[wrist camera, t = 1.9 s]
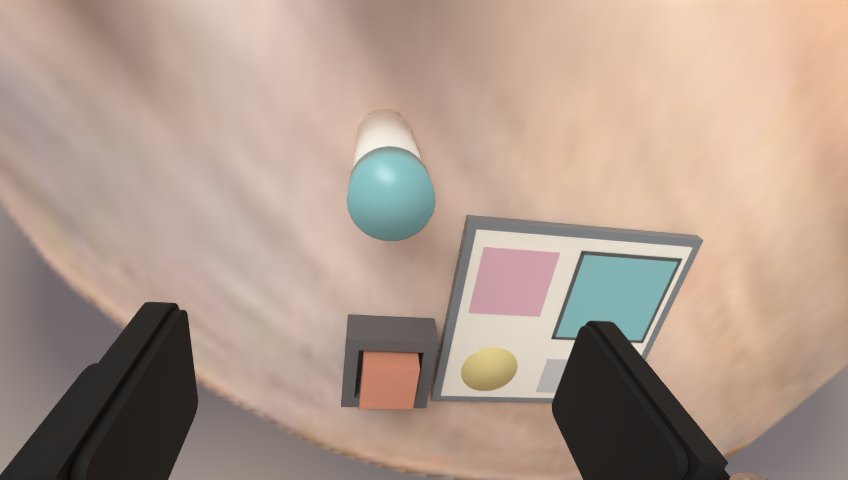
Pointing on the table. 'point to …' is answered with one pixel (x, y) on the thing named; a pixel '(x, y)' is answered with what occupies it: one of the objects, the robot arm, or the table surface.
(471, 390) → the picture board
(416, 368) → the button
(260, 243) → the table surface
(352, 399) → the button housing
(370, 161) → the marker
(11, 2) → the table surface
